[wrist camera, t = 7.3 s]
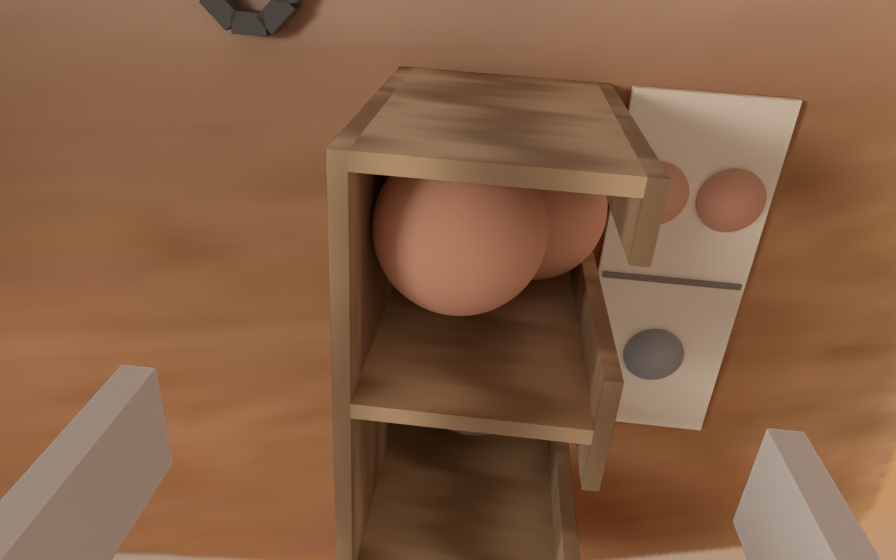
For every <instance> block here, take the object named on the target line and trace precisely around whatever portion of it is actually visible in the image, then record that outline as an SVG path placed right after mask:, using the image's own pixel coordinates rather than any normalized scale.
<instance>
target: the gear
mask: <svg viewBox="0 0 896 560" xmlns="http://www.w3.org/2000/svg"><path fill="white" fill-rule="evenodd" d="M199 2H200V4H201V5H202V6H203V7H204V8H205V9H206V10H207V11H208V12H209V13H210V14H211V15H212V16H213V17H214V18H215V19H216V21H217V22H218V23H219V24H220V25H221V26H222V27H223V28H224V29H225V30H226V31H227V30H230V29H231V30H232V34H243V35H256V36H268V35H271V34H273V33H276V32H278V31H279V30H280V29H281V28H282V27H283V26H284V24H285V23H286V22H287V21H288V20H289V19H290V18H291V17H292V16H293V15H294V14H295V13H296V12H297V11H298V10H299V8H300V6H299V5H298V4H297V3H300V2H302V0H271V1H270V2H269V3H268V4H267V5H266V6H265V8H264V9H263V10H262V11H255V10H242V9H241V8H240V7H239V5H238V4H237V3H236V2H235V1H234V0H200V1H199Z"/></svg>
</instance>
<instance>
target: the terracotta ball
mask: <svg viewBox="0 0 896 560" xmlns="http://www.w3.org/2000/svg"><path fill="white" fill-rule="evenodd" d="M540 191H541V193H542V196H543V199H544V202H545V205H546V209H547V215H548V240H547V246H546V250H545V254H544V257H543V259H542V262H541V265H540V267H539V268H538V270H537V272H536V274H535V275H534V277H533V278H532V280H541V279H548V278H552V277H556V276H559V275H561V274H564V273H566V272H568V271H570V270H571V269H573V268H575V267H576V266H578V265H579V264H580V263H581V262H582V261H584V260H585V259H586V258H587V257H588V256H589V254H590V253H591V252H592V251H593V249H594V248H595V246H596V245H597V243H598V241H599V240H600V238H601V235H602V233H603V230H604V227H605V224H606V219H607V208H608V202H607V198H606V195H598V194H587V193H576V192H565V191H554V190H543V189H540Z"/></svg>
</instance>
